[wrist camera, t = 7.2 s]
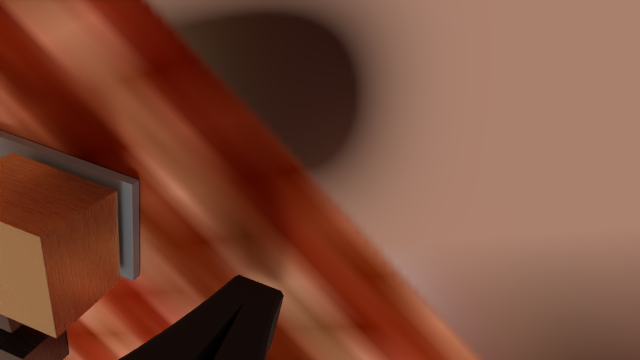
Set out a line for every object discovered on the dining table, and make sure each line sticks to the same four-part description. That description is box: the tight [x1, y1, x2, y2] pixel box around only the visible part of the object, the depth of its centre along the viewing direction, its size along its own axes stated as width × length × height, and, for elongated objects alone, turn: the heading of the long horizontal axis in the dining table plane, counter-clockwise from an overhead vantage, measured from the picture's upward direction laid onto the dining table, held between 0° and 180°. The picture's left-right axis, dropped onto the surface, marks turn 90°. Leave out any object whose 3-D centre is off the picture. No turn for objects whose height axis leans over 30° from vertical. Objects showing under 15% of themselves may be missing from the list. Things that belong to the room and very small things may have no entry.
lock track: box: [0, 130, 140, 281], centre depth 12 cm, size 4×8×1 cm, turn 78°
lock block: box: [0, 153, 120, 338], centre depth 11 cm, size 4×4×2 cm
